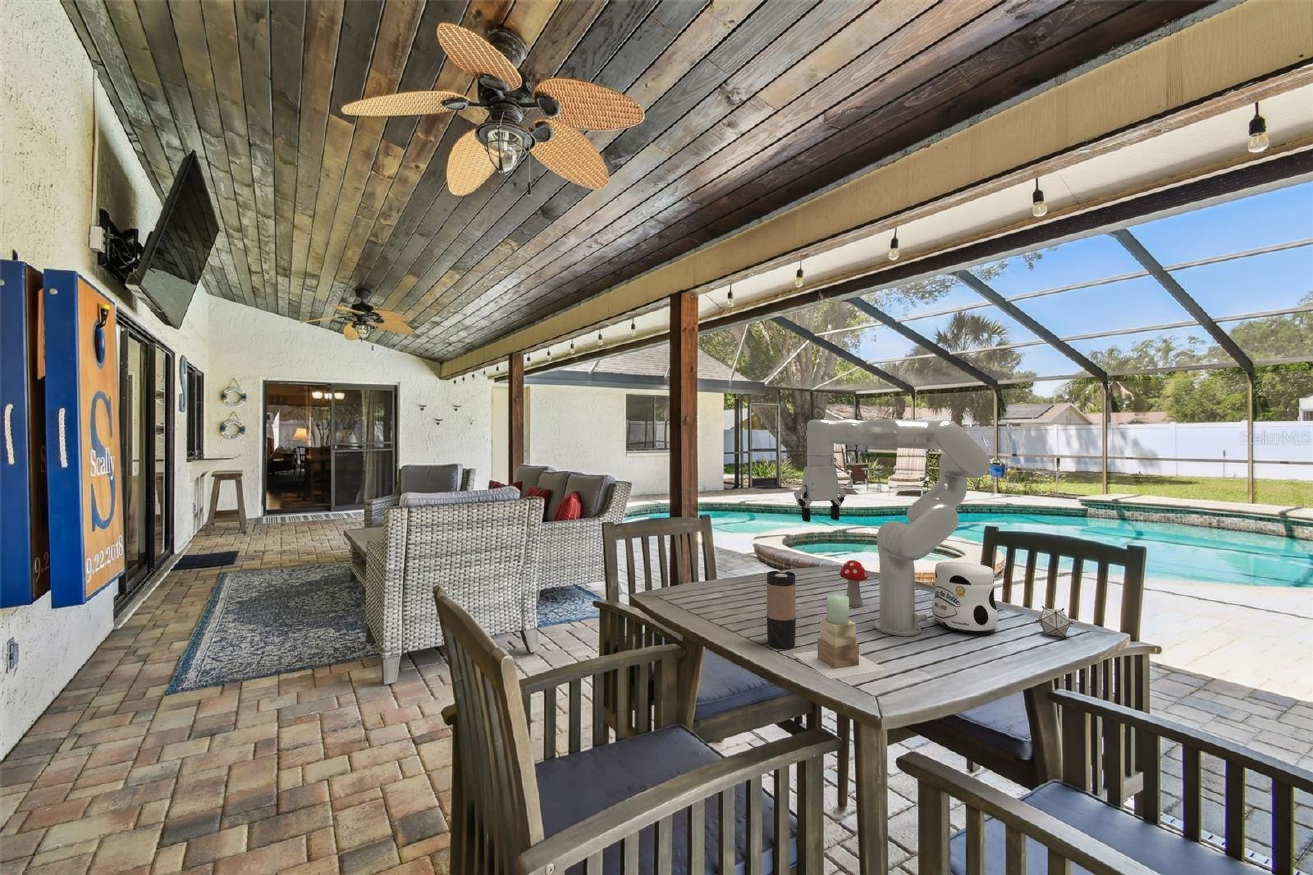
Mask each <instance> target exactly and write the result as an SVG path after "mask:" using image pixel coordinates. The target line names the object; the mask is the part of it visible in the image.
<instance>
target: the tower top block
mask: <svg viewBox="0 0 1313 875" xmlns="http://www.w3.org/2000/svg"><path fill="white" fill-rule="evenodd" d="M819 621H820V623H819V624H820V625H819V627H820V630H819V631H820V635H819V636H820V637H819V638H820V639H822V640H823V641H825V642H827V643H829V644H830V645H832V646H834V647H839V646H846V645H853V644H856V643H857V631H856V630H857V624H856V623H855V622H853V621H851V620H849V623H848V624H845V625H837V624H832V623H829V622H828V621H827V617H826V618H820V620H819Z"/></svg>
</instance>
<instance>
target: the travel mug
mask: <svg viewBox="0 0 1313 875" xmlns="http://www.w3.org/2000/svg"><path fill="white" fill-rule="evenodd" d="M796 596H797V595H796V574H795V573H794V572H793V571H785V572H779V571H778V570H771V571H768V572H766V631H767V632H766V635H767V645H768V646H769V647H770V648H772V649H776V650H783V651H784V650H792V649H794V648H795V646H796V624H797V622H796V621H797V619H796V617H797V616H796V614H797V613H796V612H797V611H796V610H797V607H796V606H797V605H796V602H797V601H796Z"/></svg>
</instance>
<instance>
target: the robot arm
mask: <svg viewBox="0 0 1313 875" xmlns="http://www.w3.org/2000/svg"><path fill="white" fill-rule="evenodd" d="M806 426H807V427H806V466H804V468H803V473H802V479H801V488H799V489H798V490H795V491H794V492H793V496H794V498H795V500H796V502H797V504H798V505H799V507H801V519H802V521H803V522H807V523H810V522H811V508H810V506H811V504H812V503H813V502H827V501H828V502H830V503H831V505H830V519H831V520H833V521H839V520H840V507H841V506H842V504H843V502H844V501H845V498H846V495H847V493H848V491H847V490H846V489H844V488H842V487H841V486H839V479H838V473H837V468H836V466H835V463H837V460H838V459H837V457H835V445H846V446H847V445H849V446H850V445H852V446H868V447H869V446H871V447H878V448H887V449H890V448H891V449H915V450H939V451H940V450H941V451H943V453H941V455H940V458H939V462H938V464H939V466H938V467H939V478H938V480H937V481H936V483H935V484H934V485H933V486H932V487H931V488H930V489H929V490H928V491H926V492H925V493H924V494H923V495H921V496H920V498H918V499H917V500H915V502H913V504H911V505H910V506H909V508H908V509H907V512H906V518H907V521H908V523H910V524H908V523H905V522H901V521H896V520H891V521H886V522H885V523H883V524H882V525H881V526H880V527H879V529H878V531H877V533H876V534H877V535H876V545H877V550H878V557H879V558H878V561H879V619H877V620H875V621H874V625H873V627H874V628H875V629H876V631H879V632H880V633H884V634H887V635H890V636H891V635H892V636H898V637H901V636H902V637H912V636H918V635H919V634H921V632H922V631H921V630H922V628H921V626H920V625H919V624H920V622H927V621H928V620H929V619H928V618H929V616H928V615H927V614H917V613H916V612H915V611H916V610H915V609H916V605H915V604H916V597H915V596H916V594H915V593H916V592H915V591H916V590H915V588H916V585H915V581H916V580H915V579H916V576H915V575H916V571H915V570H916V569H915V568H916V567H915V562H914V561H919V560H921V559H924V558H925V557H926V556H928V555H929V554H930V553H931V552H933V551H934V550H935V549H936V548H937V547H939V546H940V545H941V544H942V543H943V542H944V541H946V540H947V539H948V538H949V537H950V536H952V534H953V533H954V532H955V530H956V529H957V527H958V524H959V513H958V511H957V510H956V508H957V507H959V505H960V504H961V503H962V502H963V501H964V499H965V498H966V496H967V491H968V479H979V478H982V477H984V476H986V475H987V474H988V472H989V471H990V469H991V459H990V456H989V454H987V452H986V450H985V449H984V448H982V446H981V445H980V444H979V443H977V442H976V440H975V439H973V438H972V437H971V436H970V435H969V433H967V432H966V431H965V429H963V428H962V427H961V426H960V425H958V424H957V423H956V422H954V421H952V420H949V419H948V420H947V419H945V420H944V419H943V420H940V419H939V420H926V419H925V420H923V419H922V420H921V419H920V420H919V419H898V418H897V419H896V418H889V419H884V418H883V419H877V420H857V419H853V418H837V419H834V420H833V419H832V420H831V419H811V420H808V422H807V425H806Z"/></svg>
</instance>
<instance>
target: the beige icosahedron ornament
mask: <svg viewBox="0 0 1313 875" xmlns="http://www.w3.org/2000/svg"><path fill="white" fill-rule="evenodd" d="M1041 608H1042V611H1041V614H1040V616H1039V617H1038V619H1036V620H1035V622H1036V623H1038V624H1039V626H1040V627H1041V628H1042V630H1043V632H1044V633H1043V637H1046V636H1047V635H1050V636H1060V637H1063V638H1064V639H1065V640H1067V636H1066V634H1067V632H1068V630H1069V628H1070V626H1071V625H1074V624H1075V622H1074V621H1070V619H1069V618H1068V617H1067V615H1066V613H1065V612H1064V611H1065V607H1063V608H1061V609H1057V608H1045V607H1044V606H1043V605H1041Z"/></svg>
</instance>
